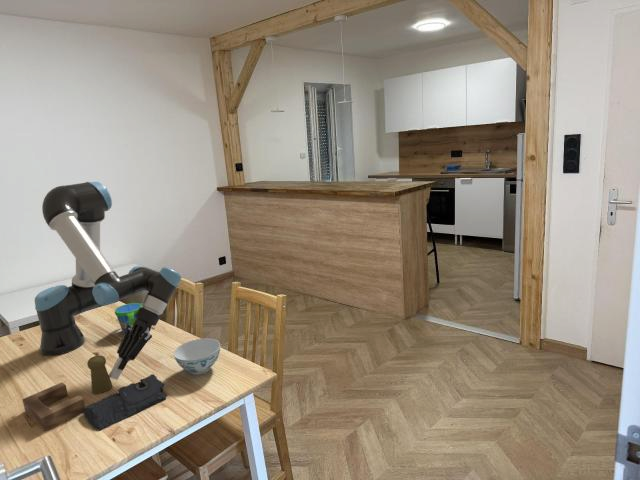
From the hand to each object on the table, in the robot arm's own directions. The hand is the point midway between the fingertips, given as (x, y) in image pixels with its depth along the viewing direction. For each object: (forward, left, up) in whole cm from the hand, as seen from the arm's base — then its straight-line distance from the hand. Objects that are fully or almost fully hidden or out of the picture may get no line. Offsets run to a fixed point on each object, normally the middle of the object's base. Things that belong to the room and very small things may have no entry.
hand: (112, 378), depth 141 cm
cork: (+3, -2, -3) cm, 4 cm away
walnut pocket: (+16, -7, -3) cm, 17 cm away
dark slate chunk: (+7, +12, -3) cm, 14 cm away
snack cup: (-36, -26, -3) cm, 45 cm away
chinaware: (-15, +23, -3) cm, 27 cm away
